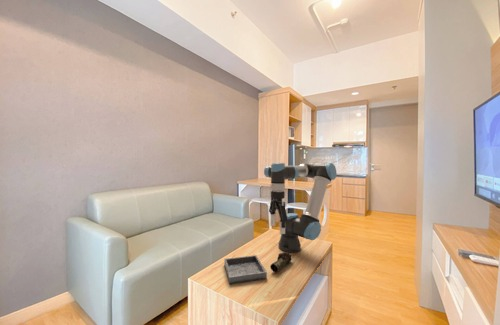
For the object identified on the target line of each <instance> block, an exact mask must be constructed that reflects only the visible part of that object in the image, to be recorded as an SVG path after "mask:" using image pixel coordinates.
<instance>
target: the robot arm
mask: <svg viewBox="0 0 500 325" xmlns="http://www.w3.org/2000/svg"><path fill="white" fill-rule="evenodd" d="M263 174H264V176H265V177H266V178H269V179H270V185H269V187H270V205H269V209H268V213H269V214H270V223H269V224H270V227H275V226H276V214H277V212H278V215H279V216H278V217H279V235H280V238H279V241H278V245H277V246H278V249H279V250H281V251H283V252H285V253H296V252H299V251H301V249H302V245H301V241H300V239H299V237H301V238H303V239H306V240H309V241H314V240H316V239H317V238H319V236H320V234H321V231H322V225H321V223H320V219H319V215H320V212H321V209H322V205H323V201H324V198H325V194H326V191H327V188H328V185H330V184H331V183H332V181H334V180H336V178H337V168H336V166H335V164H334V163H333V162H308V163H301V164H299V165H286V164H285V162H272V163H271V165H267V166H265V167H264V170H263ZM298 177H300V178H309V179H313V180H314V182H313V185H312V189H311V192H310V196H309V197H308V201H307V204H306V208H305V211H304V212H303V213H301V215H300V217H299V213H294V212H292V213H291V212H289V213H287V211H286V202H285V201H283V199H285V194H286V193H285V190H286V180H296V179H298ZM276 211H277V212H276Z"/></svg>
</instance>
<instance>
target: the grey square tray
mask: <svg viewBox="0 0 500 325" xmlns="http://www.w3.org/2000/svg"><path fill="white" fill-rule="evenodd" d="M223 265H224V268H225V272H226V273H225V274H226V277H227V281H228V283H229V286H231V285H236V284H243V283H244V284H245V283H250V282H255V281H263V280H267V277H268V276H267V271H266V269H265V267H264V266H263V264H262V262H261V261H260V259H259V257H258V256H257V255H255V254H254V255H245V256H240V257H239V256H238V257H231V258H224V264H223Z"/></svg>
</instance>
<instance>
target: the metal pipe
mask: <svg viewBox="0 0 500 325" xmlns="http://www.w3.org/2000/svg"><path fill="white" fill-rule="evenodd" d="M292 260H293V259H292V254H290V252H281V253H279V254H278V255H277V260H275V261H274V262H273V263H271V264H270V266H269V267H270V269H271V271H272V272H273V273H278V272H279V271H281V269H282V268H283V267H285V265H287V264H290V263H291V261H292Z"/></svg>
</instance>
